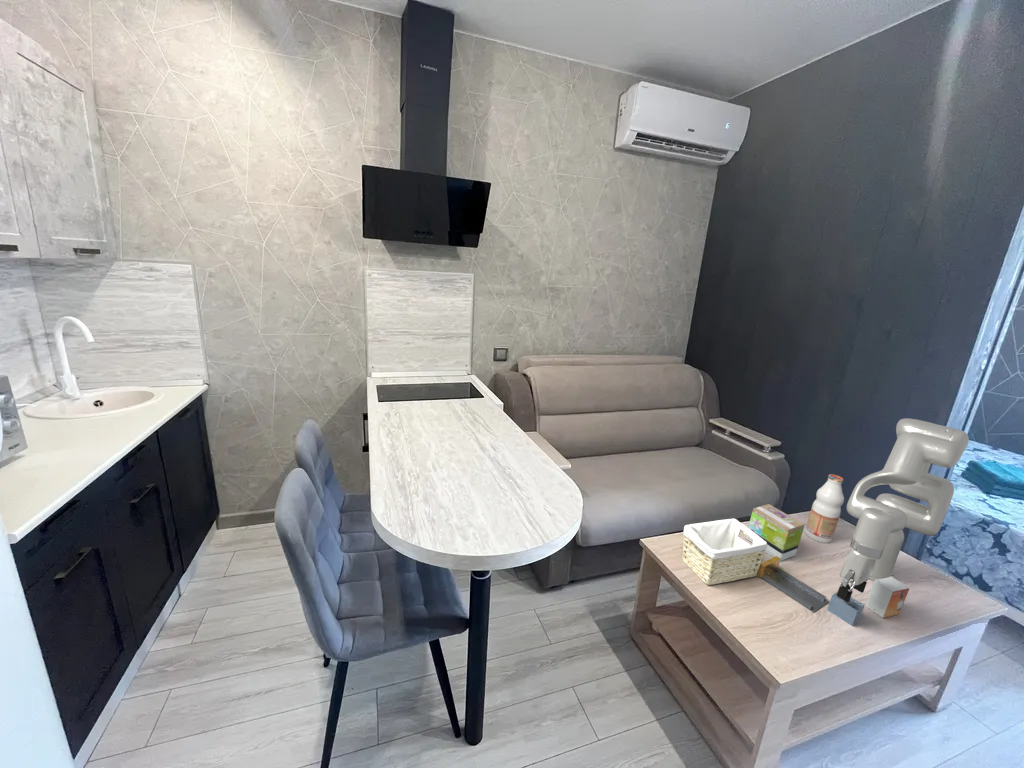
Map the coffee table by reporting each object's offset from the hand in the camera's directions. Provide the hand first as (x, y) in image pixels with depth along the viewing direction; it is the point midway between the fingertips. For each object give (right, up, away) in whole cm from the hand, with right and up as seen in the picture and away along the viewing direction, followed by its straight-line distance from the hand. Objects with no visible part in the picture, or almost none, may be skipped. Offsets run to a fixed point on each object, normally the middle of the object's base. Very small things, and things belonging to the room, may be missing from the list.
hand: (849, 594), depth 133 cm
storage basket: (-32, -1, +21) cm, 38 cm away
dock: (-9, -5, +13) cm, 17 cm away
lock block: (0, -8, +3) cm, 9 cm away
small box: (+16, -8, +6) cm, 19 cm away
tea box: (-4, +1, +35) cm, 35 cm away
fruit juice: (+22, +2, +44) cm, 49 cm away
